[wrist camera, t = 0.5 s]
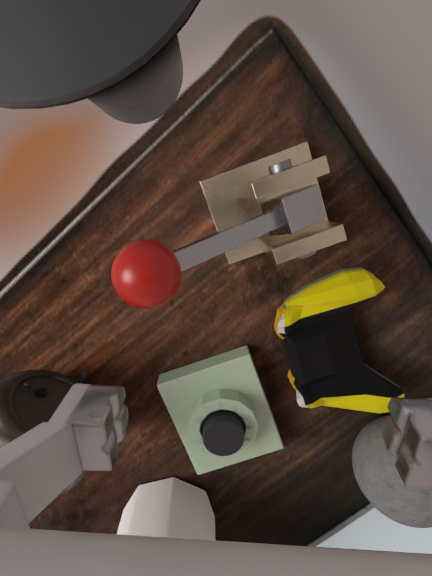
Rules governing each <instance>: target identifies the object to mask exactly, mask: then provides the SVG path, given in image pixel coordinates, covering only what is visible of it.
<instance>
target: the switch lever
mask: <svg viewBox="0 0 432 576" xmlns="http://www.w3.org/2000/svg"><path fill="white" fill-rule="evenodd" d="M260 206H261V209H262V212H263V213H262V214H259V215H257V216H254V217H252V218H250V219H247V220H245V221H243V222H240V223H238V224H236V225H233V226H231V227H228V228H226V229H224V230H221V231H219V232H217V233H214V234H212V235H210V236H207V237H205V238H202V239H200V240H198V241H195V242H193V243H191V244H188V245H186V246H183V247H181V248H179V249H176V250H174V251H172V250H171V249H170V248H168V247H167V246H166V245H164V244H162V243H160V242H157V241H153V240H139V241H135V242H133V243H130V244H128V245H127V246H125V247H124V248H123V249H122V250H121V251H120V252H119V253H118V254H117V256H116V258H115V260H114V262H113V265H112V270H111V277H112V283H113V286H114V288H115V290H116V292H117V293H118V295H119V296H120V297H121V298H122V299H123V300H124V301H125V302H127V303H128V304H130V305H132V306H135V307H138V308H143V309H150V308H155V307H159V306H161V305H163V304H165V303H167V302H168V301H169V300H170V299H172V298H173V296H174V295H175V294H176V292H177V291H178V288H179V286H180V283H181V276H182V273H181V272H182V271H185V270H187V269H189V268H191V267H194V266H196V265H198V264H200V263H202V262H205V261H207V260H209V259H211V258H213V257H216V256H218V255H220V254H222V253H225V252H227V251H229V250H231V249H233V248H236V247H238V246H240V245H242V244H245V243H247V242H249V241H251V240H253V239H256V238H258V237H260V236H262V235H264V234H267V233H269V234H270V236H274V235H289V234H294V233H296V232H299V231H301V230H303V229H305V228H307V227H309V226H311V225H314V224H316V223H318V222H320V221H322V220H324V219H326V214H325V210H324V206H323V203H322V199H321V195H320V191H319V187H318V184H314V185H310V186H306V187H302V188H298V189H294V190H291V191H289V192H286V193H284V194H282V195H279V196H277V197H274V198H272V199H269V200H267V201H264V202H262V203H260Z"/></svg>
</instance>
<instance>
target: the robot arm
mask: <svg viewBox="0 0 432 576" xmlns="http://www.w3.org/2000/svg"><path fill="white" fill-rule="evenodd" d="M125 397H126V393H125V388H124V387H123V386H115V385H100V384H80V383H76V384H74V385H73V386H72V387H71V388H70V390H69V391H68V393H67V394H66V396H65V397H64V399H63V400H62V402H61V403H60V405H59V406H58V408H57V409H56V411H55V412H54V414H53V415H52V417H51V418H50V420H49V421H48V422H42V423H41V424H39V425H38V426H36V427H34V428H33V429H31V430H29V431H28V432H26V433H24V434H23V435H21V436H20V437H18V438H16V439H15V440H13V441H11V442H10V443H8V444H7V445H5V446H3V447H2V448H0V576H432V554H422V553H404V552H389V551H372V550H357V549H356V550H355V549H340V548H323V547H308V546H293V545H277V544H261V543H246V542H230V541H214V540H199V539H183V538H167V537H151V536H135V535H119V534H103V533H87V532H71V531H55V530H39V529H30V526H29V523H30V522H31V521H32V520H33V519H34V518H35V517H36V516H37V515H38V514H39V513H40V512H41V511H42V510H43V509H44V508H45V507H46V506H47V505H49V504H50V503H51V502H52V501H53V500H54V499H55V498H56V497H57V496H58V495H59V494H60V493H61V492H62V491H63V490H64V489H65V488H66V487H67V486H68V485H69V484H70V483H71V482H72V481H74V480H75V479H76V478H77V477H78V476H79V475H80V474H81V473H82V470H90V471H111V470H112V468H113V465H114V462H115V460H116V457H117V455H118V452H119V450H118V443H119V442H120V441H121V440H123V439H124V436H125V433H126V429H127V424H128V407H127V406H126V405H125V404H124V403H123V402H124V400H125ZM387 408H388V410H389V411H390V413H391V414H389V415H388V416H387V417H386V418H384V422H383V426H382V433H383V440H384V443H385V446H386V448H387V450H388V452H389V453H390V454H392V455H393V456H394V457H395V458H397V460H396V463H395V467H396V469H397V471H398V473H399V475H400V477H401V479H402V481H403V483H404V485H405V487H413V488H425V489H432V398H427V399H425V398H398V397H392V398H391V399H390V401H389V403H388V407H387Z"/></svg>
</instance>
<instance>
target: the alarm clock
mask: <svg viewBox="0 0 432 576" xmlns="http://www.w3.org/2000/svg"><path fill="white" fill-rule="evenodd" d="M86 376H87V372H86V371H85V370H83V371H81V372H80V374H79V375H78V376H77V378H76V379H71V378H69V377H67V376H64V375H62V374H58V373H55V372H51V371H44V370H28V371H22V372H18V373H14V374H12V375H9V376H7V377H5V378H3V379H2V380H0V448H2V447H3V446H5V445H7V444H8V443H10V442H11V441H13V440H15V439H16V438H18V437H20V436H21V435H23V434H24V433H26V432H28V431H29V430H31V429H33V428H34V427H36V426H38V425H39V424H41V423H42V422H48V421H49V420H50V418H51V417H52V415H53V414H54V412H55V411H56V409H57V408H58V406H59V405H60V403H61V402H62V400H63V399H64V397H65V396H66V394H67V393H68V391H69V390H70V388H71V387H72V386H73V385H74V384H76V383H80V384H82V382H83V380H84V379H85V377H86ZM87 471H88V470H82V473H81V474H80V475H79V476H78V477H77V478H76V479H75V480H74V481H72V482H71V483H70V484H69V485H68V486H67V487H66V488H65V489H64V490H63V491H62V492H61V493H60V494H59V495H62V494H64V493H66V492H68V491H70V490H71V489H73V488H74V487H75V486H77V485H78V484H79V483H80V482H81V480H82V479H83V478H84V476H85V475H86V473H87ZM59 495H58V496H59Z"/></svg>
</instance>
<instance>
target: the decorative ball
mask: <svg viewBox="0 0 432 576" xmlns="http://www.w3.org/2000/svg"><path fill="white" fill-rule="evenodd" d="M387 416H388V415H386V416H382V417H379V418H377V419H374V420H372V421H371V422H369V423H368V424H367V425H366V426H364V427H363V429H362V430H361V431H360V432H359V434H358V436H357V437H356V440H355V442H354V446H353V450H352V465H353V471H354V474H355V478H356V480H357V482H358V485H359V487H360V489H361V490H362V492H363V494H364V495H365V496H366V498H367V499H368V500H369V501H370V503H371V504H372V505H373V506H374V507H375V508H376V509H377V510H379V511H380V512H381V513H382V514H384V515H385V516H387V517H388V518H390V519H392V520H394V521H396V522H398V523H401V524H404V525H407V526H411V527H417V528H428V527H432V489H425V488H413V487H405V485H404V483H403V481H402V479H401V477H400V475H399V473H398V471H397V469H396V467H395V463H396V460H397V458H395V457H394V456H393V455H392V454H390V453H389V452H388V450H387V448H386V446H385V443H384V440H383V433H382V426H383V422H384V418H386V417H387Z"/></svg>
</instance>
